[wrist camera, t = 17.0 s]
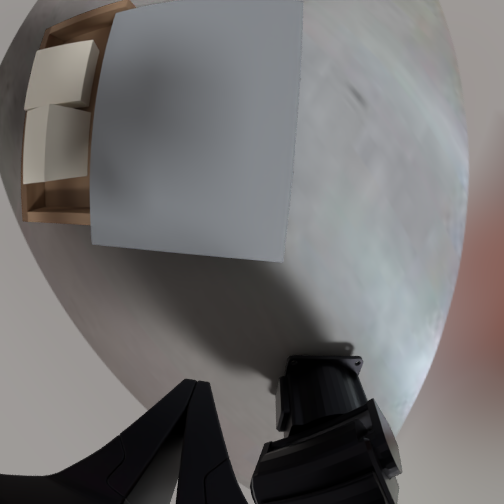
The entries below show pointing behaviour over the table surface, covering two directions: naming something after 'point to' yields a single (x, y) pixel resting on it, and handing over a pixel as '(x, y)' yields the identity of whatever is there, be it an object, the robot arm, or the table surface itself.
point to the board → (197, 128)
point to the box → (70, 31)
